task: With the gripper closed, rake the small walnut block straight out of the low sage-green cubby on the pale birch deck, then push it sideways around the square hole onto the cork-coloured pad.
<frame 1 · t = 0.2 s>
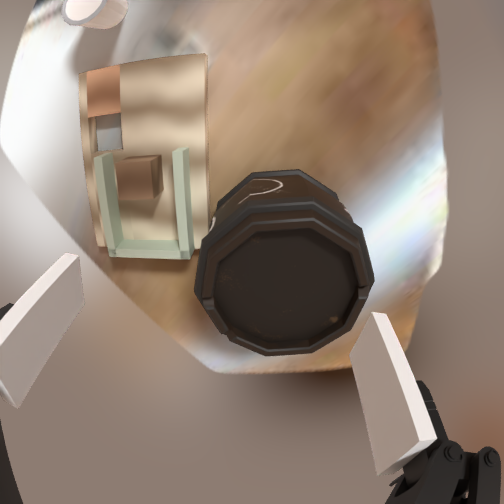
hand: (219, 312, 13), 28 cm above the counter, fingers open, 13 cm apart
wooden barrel: (277, 230, 42), on the counter
block: (145, 172, 36), point 2 cm above the counter, touching deck
deck: (144, 155, 37), on the counter
shot glass: (110, 11, 28), on the counter
cubby: (153, 196, 40), resting on deck
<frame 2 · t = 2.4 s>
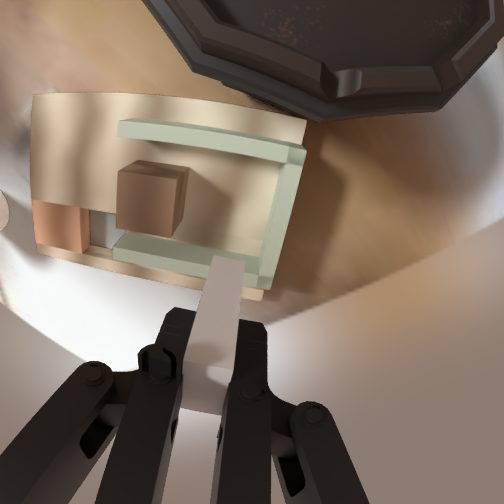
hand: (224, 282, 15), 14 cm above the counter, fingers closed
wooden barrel: (303, 17, 19), on the counter
block: (160, 189, 25), point 2 cm above the counter, touching deck
deck: (145, 187, 27), on the counter
cubby: (207, 189, 27), resting on deck
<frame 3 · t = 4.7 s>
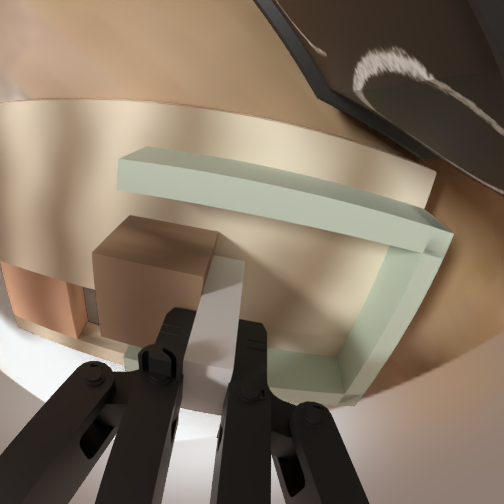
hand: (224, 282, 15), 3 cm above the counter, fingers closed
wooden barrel: (420, 7, 10), on the counter
block: (169, 263, 15), point 2 cm above the counter
deck: (166, 255, 17), on the counter
cubby: (267, 263, 17), resting on deck
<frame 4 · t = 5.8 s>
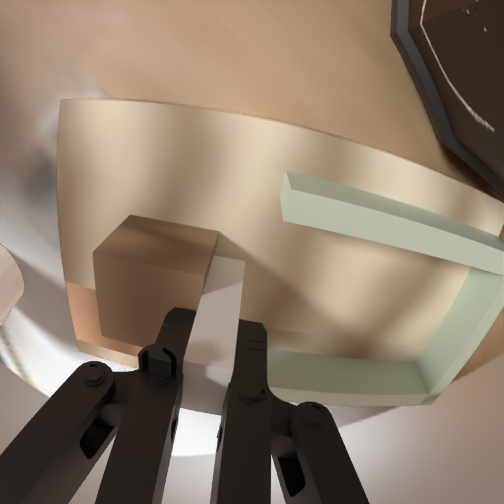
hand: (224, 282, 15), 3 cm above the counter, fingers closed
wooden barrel: (500, 57, 11), on the counter
block: (169, 262, 15), point 2 cm above the counter, touching deck, gripper
deck: (273, 276, 18), on the counter
shot glass: (3, 270, 19), on the counter
cubby: (367, 282, 18), resting on deck
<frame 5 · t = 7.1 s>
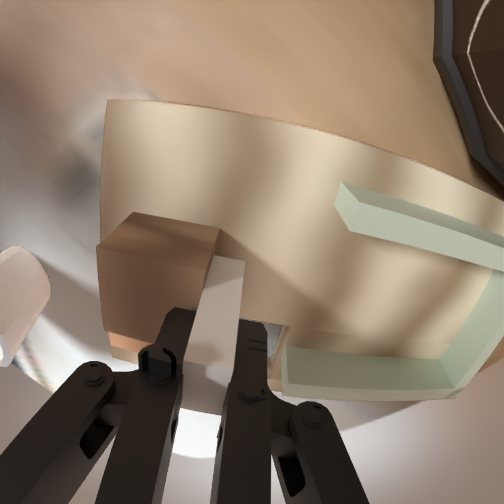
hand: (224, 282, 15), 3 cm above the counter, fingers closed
block: (171, 259, 16), point 2 cm above the counter, touching deck
deck: (316, 280, 18), on the counter
shot glass: (26, 275, 20), on the counter
cubby: (400, 285, 18), resting on deck
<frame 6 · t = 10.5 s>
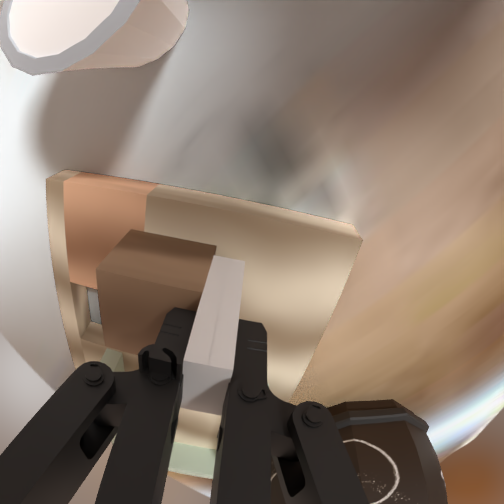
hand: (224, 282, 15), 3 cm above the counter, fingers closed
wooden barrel: (340, 438, 28), on the counter
block: (169, 275, 16), point 2 cm above the counter, touching deck, gripper
deck: (179, 355, 22), on the counter
shot glass: (138, 20, 12), on the counter
cubby: (185, 398, 24), resting on deck
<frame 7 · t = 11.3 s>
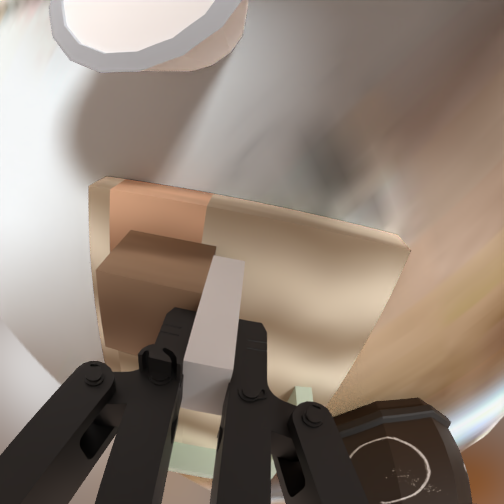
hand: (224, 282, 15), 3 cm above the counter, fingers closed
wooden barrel: (366, 437, 28), on the counter
block: (169, 275, 16), point 2 cm above the counter, touching deck, gripper
deck: (220, 363, 22), on the counter
shot glass: (190, 22, 12), on the counter
cubby: (220, 405, 24), resting on deck
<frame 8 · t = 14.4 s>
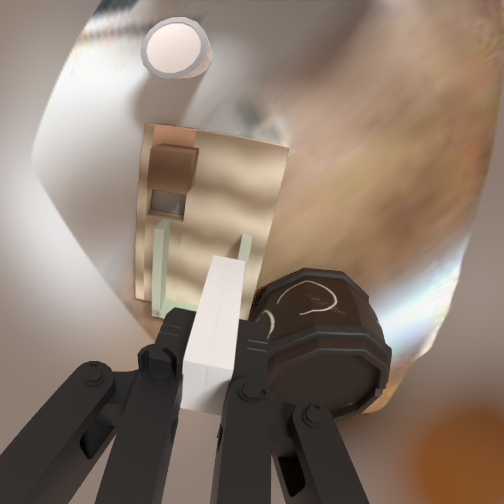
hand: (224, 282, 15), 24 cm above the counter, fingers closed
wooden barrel: (308, 312, 46), on the counter
block: (177, 164, 34), point 2 cm above the counter, touching deck
deck: (202, 227, 40), on the counter
shot glass: (189, 56, 30), on the counter
cubby: (202, 265, 43), resting on deck
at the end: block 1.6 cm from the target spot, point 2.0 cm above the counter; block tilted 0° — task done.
